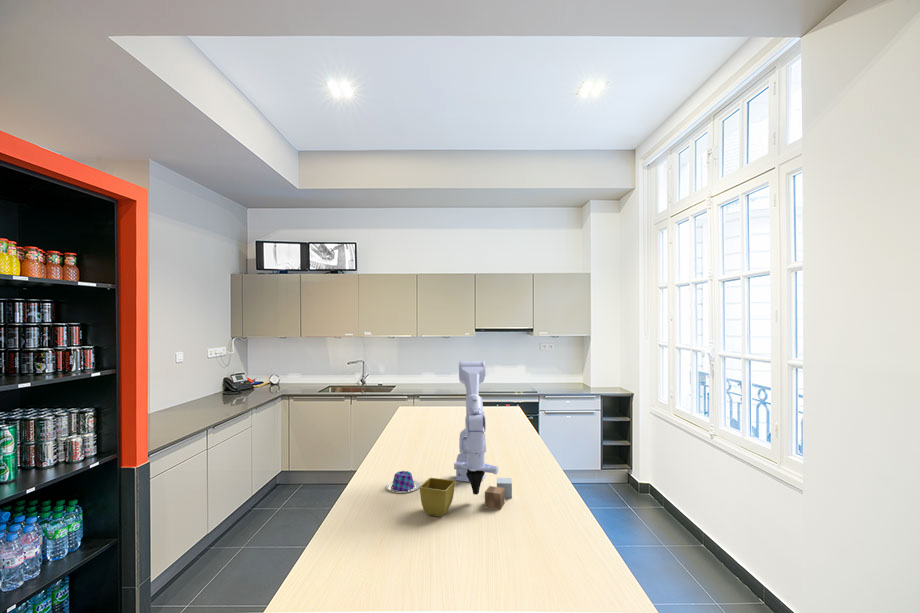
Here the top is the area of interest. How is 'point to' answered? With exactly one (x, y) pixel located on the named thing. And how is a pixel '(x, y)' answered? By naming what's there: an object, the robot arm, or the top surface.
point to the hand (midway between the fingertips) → (476, 493)
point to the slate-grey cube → (505, 486)
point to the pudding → (403, 482)
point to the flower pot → (437, 496)
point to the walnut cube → (494, 497)
